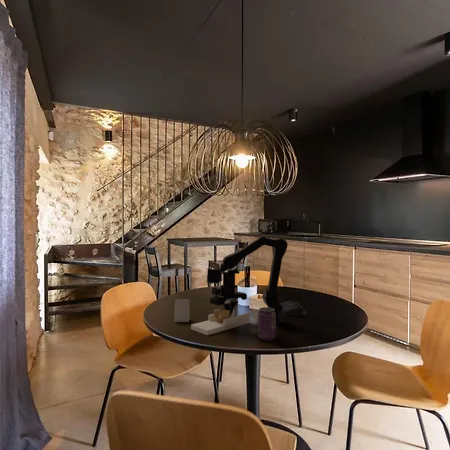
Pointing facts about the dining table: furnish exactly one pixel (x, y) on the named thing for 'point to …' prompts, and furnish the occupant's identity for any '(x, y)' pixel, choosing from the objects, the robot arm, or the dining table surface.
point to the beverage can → (267, 324)
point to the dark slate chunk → (292, 309)
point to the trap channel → (215, 327)
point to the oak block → (221, 315)
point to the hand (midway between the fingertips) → (229, 316)
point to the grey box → (181, 311)
